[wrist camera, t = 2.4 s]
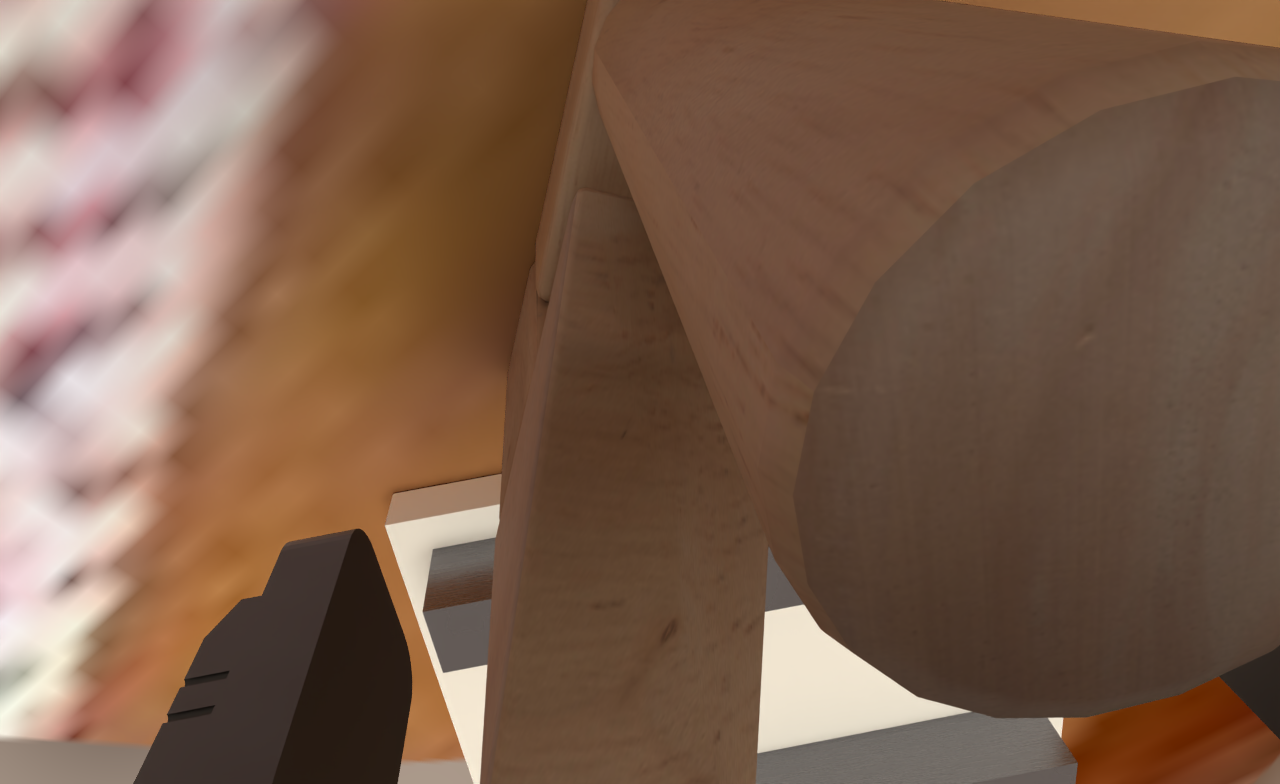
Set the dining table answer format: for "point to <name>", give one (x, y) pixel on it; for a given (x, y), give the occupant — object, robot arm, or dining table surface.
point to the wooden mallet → (885, 374)
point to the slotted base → (790, 683)
